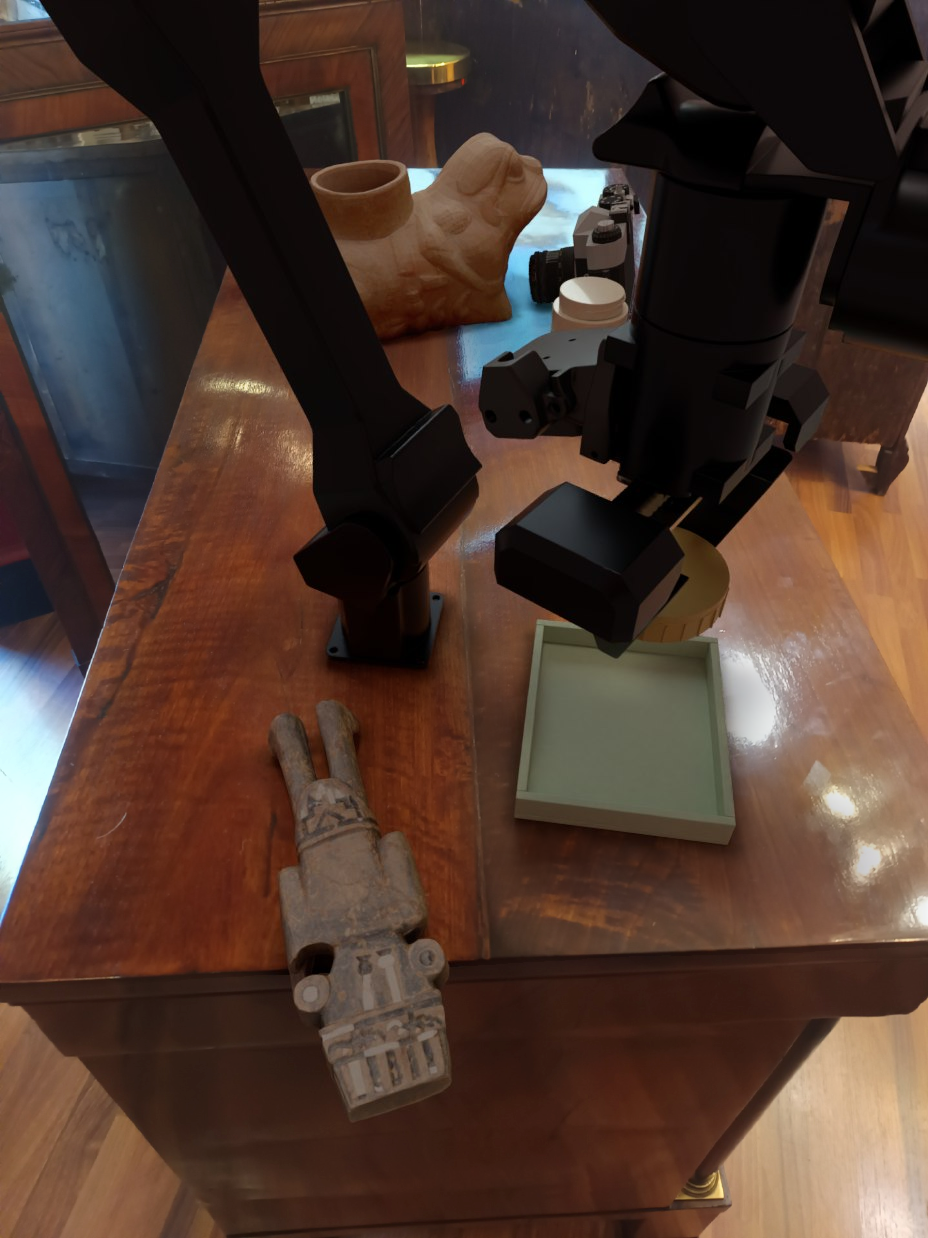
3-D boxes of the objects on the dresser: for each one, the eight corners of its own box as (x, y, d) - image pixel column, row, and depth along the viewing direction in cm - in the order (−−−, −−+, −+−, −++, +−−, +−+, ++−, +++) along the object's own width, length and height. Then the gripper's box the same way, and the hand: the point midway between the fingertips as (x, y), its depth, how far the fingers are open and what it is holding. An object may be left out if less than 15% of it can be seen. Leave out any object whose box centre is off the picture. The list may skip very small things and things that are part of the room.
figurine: (255, 774, 47) (325, 1163, 33) (233, 718, 43) (300, 1127, 29) (373, 739, 48) (487, 1099, 34) (360, 682, 45) (482, 1058, 31)
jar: (616, 404, 72) (630, 309, 66) (544, 398, 73) (551, 304, 67) (617, 368, 76) (631, 276, 70) (549, 363, 77) (556, 271, 71)
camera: (548, 280, 93) (537, 186, 86) (645, 270, 90) (641, 171, 83) (528, 340, 83) (514, 238, 76) (637, 331, 80) (632, 224, 73)
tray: (727, 845, 42) (736, 826, 41) (514, 818, 43) (515, 798, 42) (711, 658, 51) (718, 637, 50) (534, 639, 52) (536, 618, 51)
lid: (625, 529, 43) (630, 503, 42) (747, 584, 40) (755, 558, 39) (553, 601, 39) (556, 575, 38) (681, 667, 36) (688, 641, 35)
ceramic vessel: (566, 314, 84) (581, 152, 74) (317, 361, 77) (293, 190, 67) (511, 263, 93) (517, 112, 83) (284, 301, 86) (258, 142, 76)
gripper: (644, 189, 38) (603, 467, 49) (373, 338, 28) (399, 647, 39) (885, 247, 33) (780, 541, 45) (664, 453, 23) (599, 769, 34)
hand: (645, 612), depth 41 cm, fingers closed on lid, 6 cm apart
